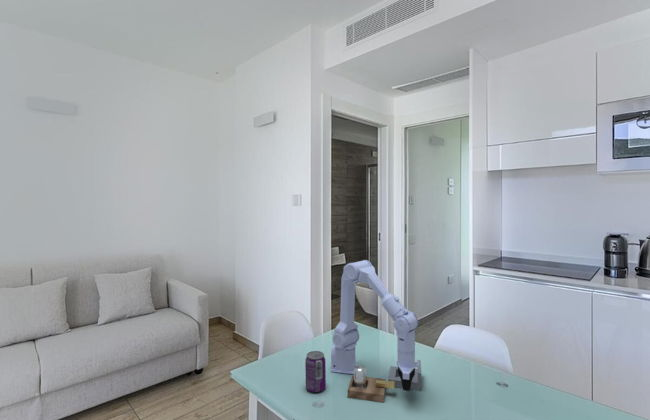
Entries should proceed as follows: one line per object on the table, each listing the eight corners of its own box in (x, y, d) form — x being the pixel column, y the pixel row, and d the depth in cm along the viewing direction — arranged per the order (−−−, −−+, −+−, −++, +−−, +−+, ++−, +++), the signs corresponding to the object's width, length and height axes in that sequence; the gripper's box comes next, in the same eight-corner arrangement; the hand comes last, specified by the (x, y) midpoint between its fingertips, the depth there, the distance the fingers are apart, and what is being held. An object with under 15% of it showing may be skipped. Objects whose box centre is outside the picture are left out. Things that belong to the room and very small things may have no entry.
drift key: (375, 387, 113) (375, 383, 113) (376, 382, 115) (376, 379, 115) (394, 389, 111) (394, 385, 111) (394, 384, 114) (394, 381, 114)
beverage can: (328, 384, 120) (328, 351, 119) (321, 395, 113) (321, 360, 113) (310, 381, 122) (309, 349, 122) (302, 391, 115) (302, 357, 115)
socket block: (347, 397, 111) (347, 390, 111) (352, 381, 121) (352, 375, 121) (383, 402, 108) (383, 394, 108) (385, 386, 118) (385, 379, 118)
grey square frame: (388, 386, 118) (388, 369, 118) (390, 372, 128) (390, 356, 127) (421, 390, 115) (421, 373, 115) (420, 375, 125) (420, 360, 125)
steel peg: (353, 393, 114) (353, 370, 114) (355, 387, 118) (355, 364, 118) (365, 394, 113) (364, 371, 113) (366, 388, 117) (366, 365, 117)
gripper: (419, 360, 103) (419, 404, 103) (418, 341, 117) (418, 379, 118) (395, 358, 105) (396, 401, 105) (397, 340, 119) (397, 377, 119)
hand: (406, 389), depth 111 cm, fingers closed
